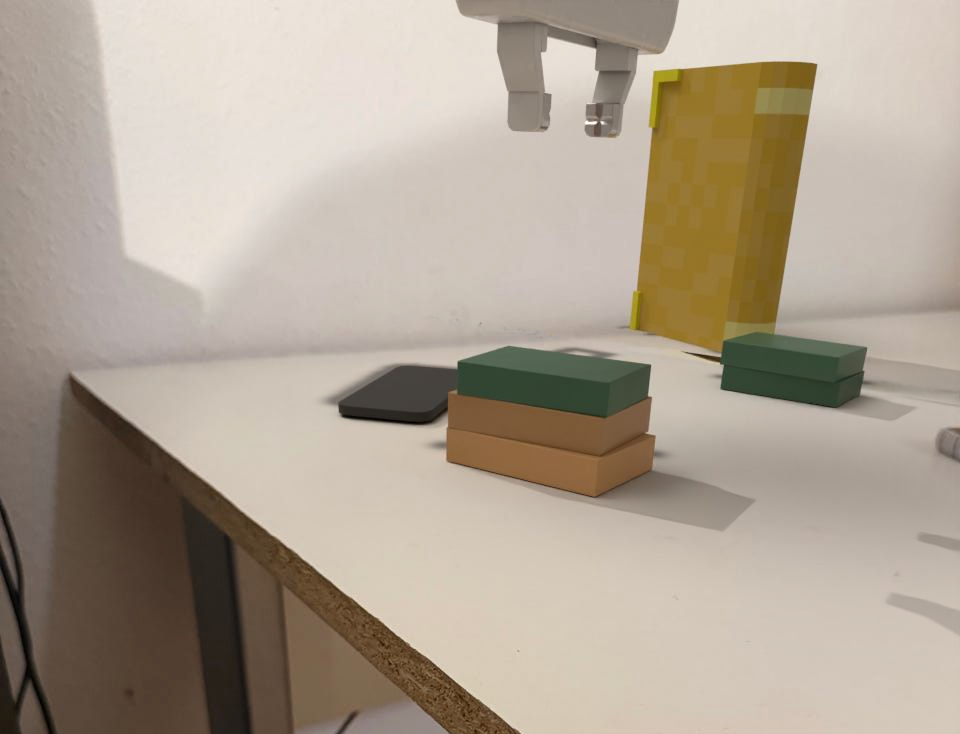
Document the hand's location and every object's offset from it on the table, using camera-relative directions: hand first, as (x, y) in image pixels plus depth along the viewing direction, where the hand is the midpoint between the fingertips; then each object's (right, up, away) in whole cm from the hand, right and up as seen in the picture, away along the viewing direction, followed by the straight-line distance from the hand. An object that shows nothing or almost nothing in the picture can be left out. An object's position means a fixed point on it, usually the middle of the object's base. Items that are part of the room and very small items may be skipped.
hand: (567, 135), depth 54 cm
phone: (-10, -9, +22) cm, 26 cm away
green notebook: (0, -13, +5) cm, 14 cm away
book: (+18, +1, +45) cm, 48 cm away
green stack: (+22, -7, +28) cm, 36 cm away
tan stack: (-1, -17, +7) cm, 19 cm away
